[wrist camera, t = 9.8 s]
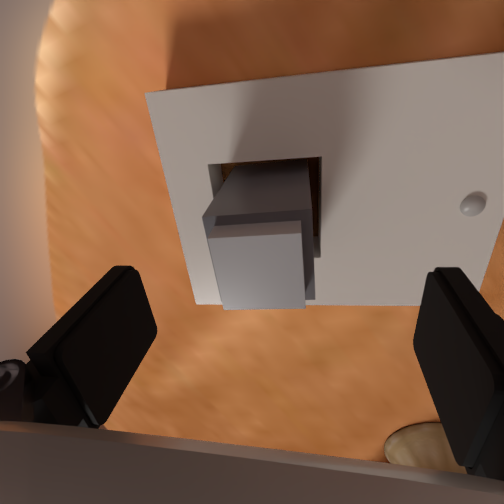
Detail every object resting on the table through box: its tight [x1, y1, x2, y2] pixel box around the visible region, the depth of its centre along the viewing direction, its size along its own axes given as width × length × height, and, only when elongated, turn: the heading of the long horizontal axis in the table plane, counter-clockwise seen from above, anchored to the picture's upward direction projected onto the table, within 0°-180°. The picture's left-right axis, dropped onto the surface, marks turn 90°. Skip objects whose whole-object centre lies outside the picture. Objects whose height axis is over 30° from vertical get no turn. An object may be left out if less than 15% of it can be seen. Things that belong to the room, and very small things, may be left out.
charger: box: [202, 158, 315, 310], centre depth 15 cm, size 4×4×8 cm
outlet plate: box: [145, 51, 504, 306], centre depth 16 cm, size 16×12×3 cm
